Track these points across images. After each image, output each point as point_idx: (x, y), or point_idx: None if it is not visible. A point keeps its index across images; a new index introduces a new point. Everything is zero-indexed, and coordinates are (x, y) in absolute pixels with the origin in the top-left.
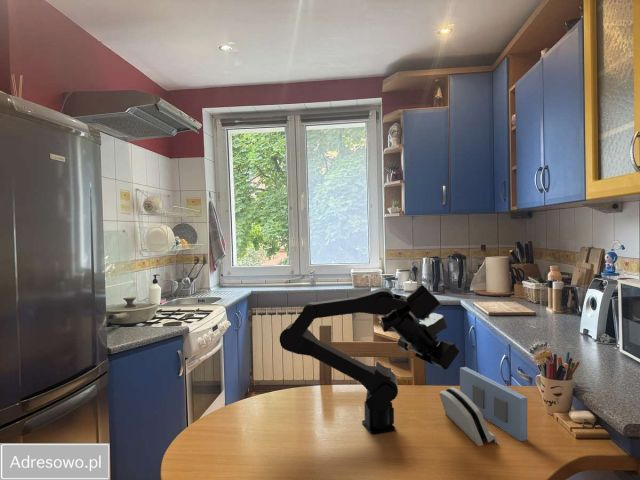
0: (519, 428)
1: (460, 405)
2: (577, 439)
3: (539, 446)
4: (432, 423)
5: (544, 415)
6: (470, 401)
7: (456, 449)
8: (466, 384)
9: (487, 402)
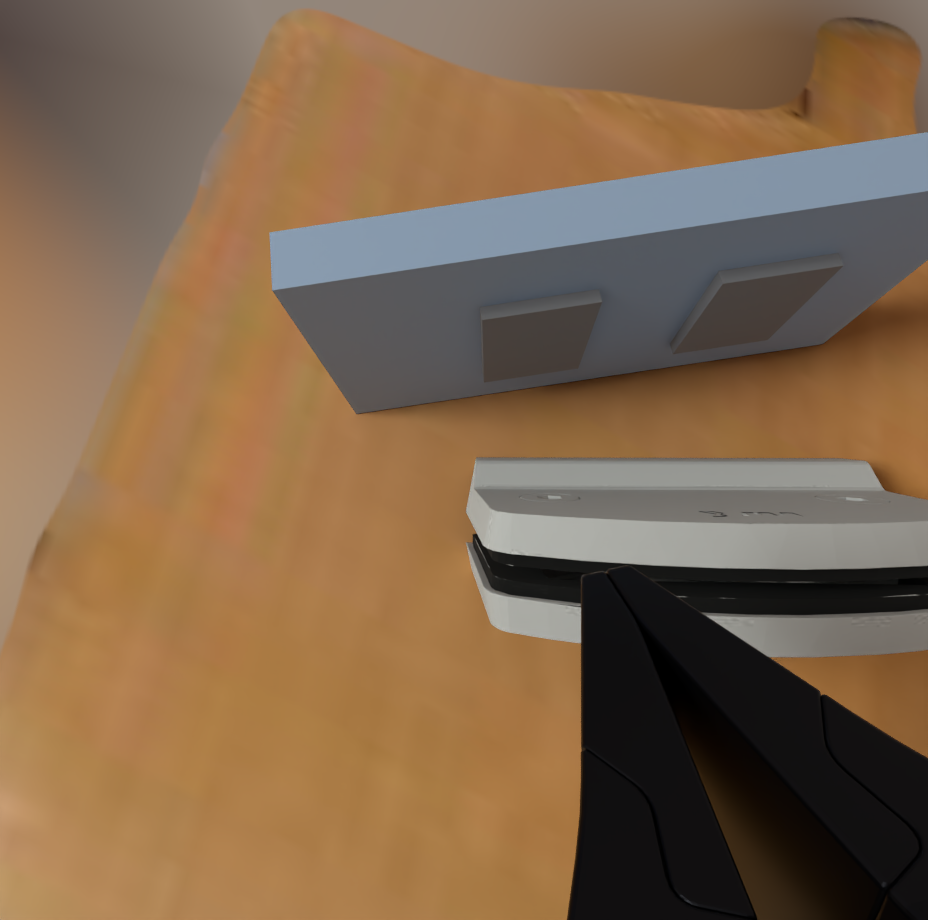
0: (857, 311)
1: (903, 630)
2: (808, 116)
3: None
4: None
5: (580, 109)
6: (908, 533)
7: (906, 723)
8: (393, 339)
9: (614, 328)
